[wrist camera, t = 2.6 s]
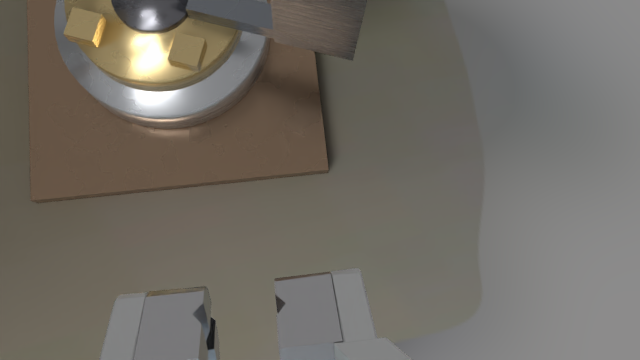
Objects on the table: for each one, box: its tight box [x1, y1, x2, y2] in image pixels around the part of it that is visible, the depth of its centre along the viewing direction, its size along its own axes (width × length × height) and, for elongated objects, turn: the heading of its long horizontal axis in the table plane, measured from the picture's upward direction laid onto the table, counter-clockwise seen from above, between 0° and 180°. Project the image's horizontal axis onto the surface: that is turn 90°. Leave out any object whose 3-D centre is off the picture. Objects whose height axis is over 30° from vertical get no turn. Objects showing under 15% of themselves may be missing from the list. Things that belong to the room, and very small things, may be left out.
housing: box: [27, 0, 329, 203], centre depth 40 cm, size 20×18×4 cm
